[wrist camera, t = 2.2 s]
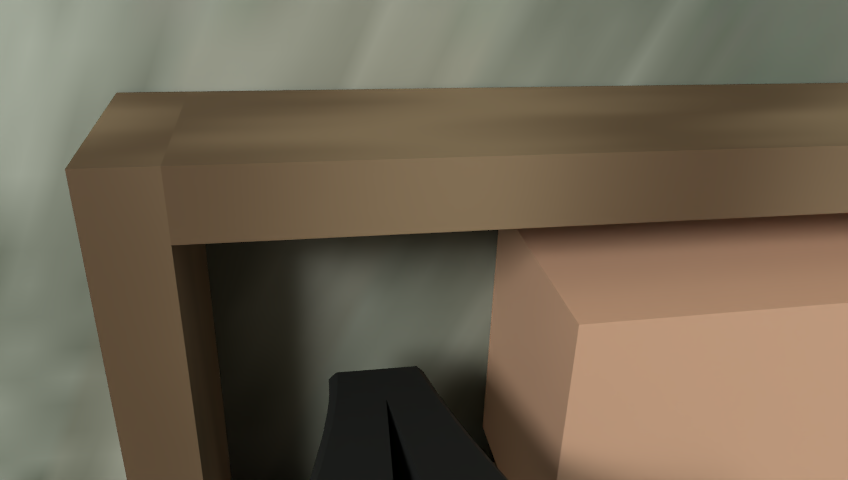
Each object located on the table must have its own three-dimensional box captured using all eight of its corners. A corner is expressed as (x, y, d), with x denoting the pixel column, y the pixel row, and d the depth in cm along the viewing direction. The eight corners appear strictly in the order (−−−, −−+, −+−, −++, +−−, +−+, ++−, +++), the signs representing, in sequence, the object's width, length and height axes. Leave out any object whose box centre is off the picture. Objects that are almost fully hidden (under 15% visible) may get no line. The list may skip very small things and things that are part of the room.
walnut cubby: (992, 80, 13) (1168, 136, 11) (844, 456, 17) (945, 562, 15) (116, 92, 11) (64, 169, 8) (185, 531, 15) (166, 676, 12)
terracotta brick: (896, 178, 14) (1099, 281, 11) (826, 384, 16) (972, 525, 13) (496, 198, 13) (578, 324, 9) (480, 420, 15) (540, 587, 12)
